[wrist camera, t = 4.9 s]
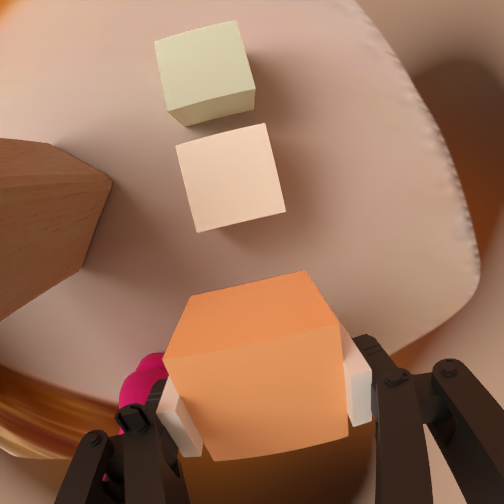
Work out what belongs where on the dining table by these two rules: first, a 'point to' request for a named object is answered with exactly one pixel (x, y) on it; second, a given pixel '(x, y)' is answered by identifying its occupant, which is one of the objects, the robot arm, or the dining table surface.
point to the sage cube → (205, 73)
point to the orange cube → (260, 368)
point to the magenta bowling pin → (142, 381)
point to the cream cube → (230, 177)
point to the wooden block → (44, 218)
